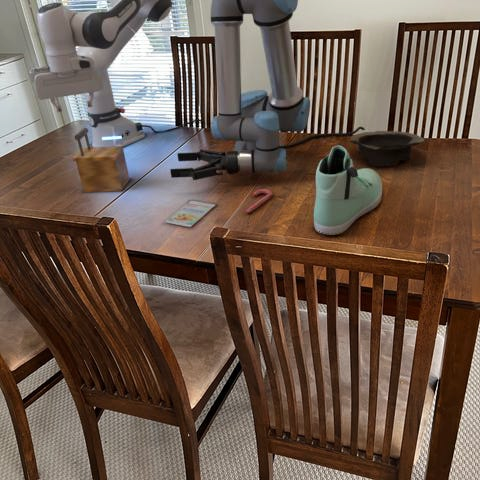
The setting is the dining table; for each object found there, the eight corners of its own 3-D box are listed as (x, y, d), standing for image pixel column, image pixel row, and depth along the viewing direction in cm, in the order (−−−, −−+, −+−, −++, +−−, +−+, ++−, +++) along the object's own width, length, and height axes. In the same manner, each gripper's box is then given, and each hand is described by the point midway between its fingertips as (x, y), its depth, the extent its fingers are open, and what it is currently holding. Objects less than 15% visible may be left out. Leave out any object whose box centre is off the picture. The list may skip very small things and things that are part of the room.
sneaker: (389, 187, 148) (396, 123, 138) (356, 242, 123) (361, 168, 112) (346, 181, 154) (350, 119, 144) (306, 232, 129) (307, 161, 118)
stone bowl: (382, 177, 154) (383, 149, 150) (334, 159, 175) (334, 134, 170) (439, 158, 163) (441, 131, 159) (387, 143, 183) (387, 119, 179)
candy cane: (232, 210, 143) (232, 206, 142) (259, 190, 153) (259, 186, 152) (249, 215, 140) (248, 210, 139) (276, 194, 150) (275, 190, 149)
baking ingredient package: (164, 221, 138) (191, 199, 150) (164, 222, 139) (191, 201, 150) (190, 226, 135) (215, 203, 146) (190, 227, 135) (215, 205, 147)
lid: (72, 161, 156) (66, 136, 152) (83, 151, 164) (77, 126, 160) (115, 160, 155) (109, 134, 150) (123, 149, 163) (118, 125, 158)
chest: (83, 192, 162) (75, 161, 156) (93, 180, 170) (85, 151, 164) (121, 190, 160) (115, 160, 155) (129, 179, 168) (123, 149, 163)
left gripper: (27, 70, 139) (40, 117, 147) (98, 61, 144) (108, 106, 152) (28, 66, 145) (41, 111, 152) (97, 57, 149) (106, 101, 157)
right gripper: (237, 189, 147) (169, 191, 149) (241, 158, 169) (182, 161, 170) (235, 166, 144) (165, 169, 145) (240, 138, 165) (179, 141, 167)
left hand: (75, 109), depth 152 cm, fingers open, 8 cm apart
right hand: (174, 165), depth 158 cm, fingers open, 13 cm apart
